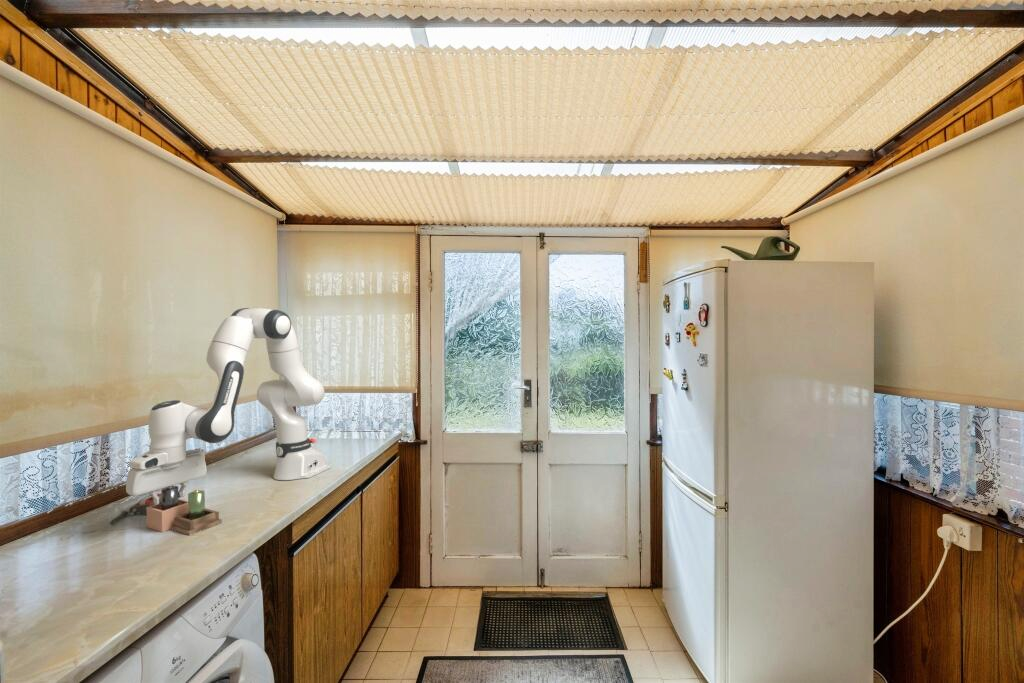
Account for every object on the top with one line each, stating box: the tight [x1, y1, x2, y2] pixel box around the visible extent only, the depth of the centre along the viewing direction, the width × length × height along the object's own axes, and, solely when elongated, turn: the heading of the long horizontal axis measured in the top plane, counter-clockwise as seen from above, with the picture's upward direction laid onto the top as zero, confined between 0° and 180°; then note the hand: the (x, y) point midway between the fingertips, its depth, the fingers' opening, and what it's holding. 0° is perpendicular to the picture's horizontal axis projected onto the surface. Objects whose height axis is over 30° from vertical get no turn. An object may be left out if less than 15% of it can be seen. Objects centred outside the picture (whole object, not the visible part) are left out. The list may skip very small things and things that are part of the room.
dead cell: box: [160, 485, 179, 511], centre depth 134 cm, size 4×4×10 cm
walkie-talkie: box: [109, 493, 162, 525], centre depth 144 cm, size 9×4×20 cm
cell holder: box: [171, 507, 223, 536], centre depth 133 cm, size 9×9×4 cm
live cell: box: [187, 489, 206, 520], centre depth 133 cm, size 4×4×10 cm
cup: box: [146, 498, 189, 533], centre depth 134 cm, size 8×8×6 cm
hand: (169, 500), depth 134 cm, fingers open, 5 cm apart
